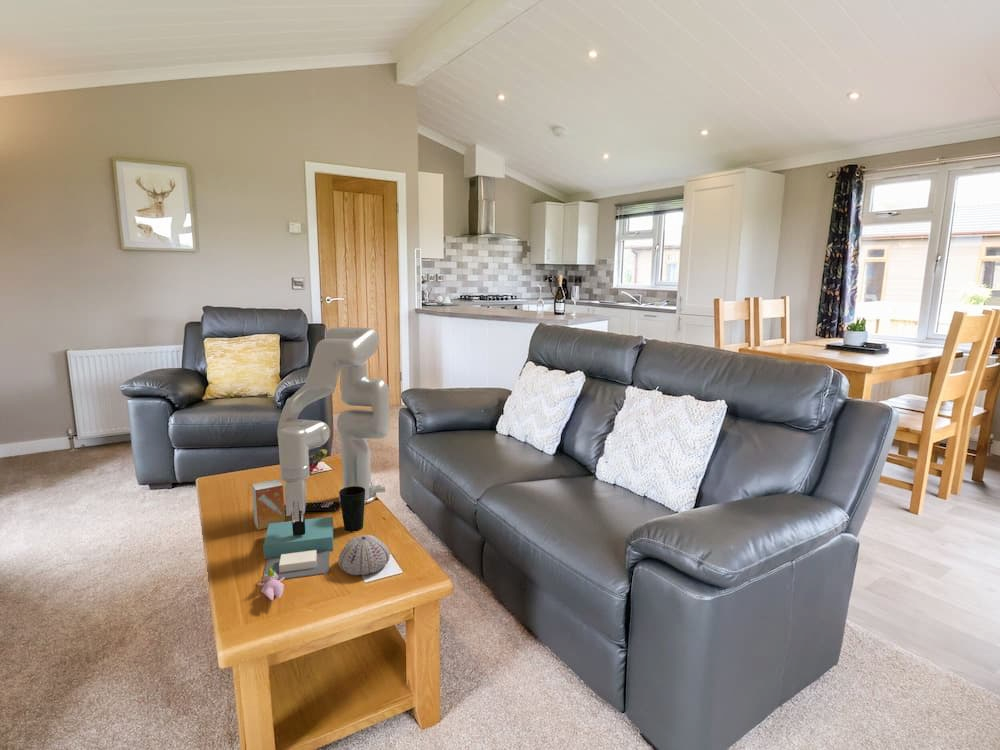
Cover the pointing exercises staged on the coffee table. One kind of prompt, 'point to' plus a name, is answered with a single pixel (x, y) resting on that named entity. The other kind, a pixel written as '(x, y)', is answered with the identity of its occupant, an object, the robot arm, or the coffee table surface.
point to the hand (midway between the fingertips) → (299, 533)
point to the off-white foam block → (298, 561)
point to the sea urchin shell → (363, 555)
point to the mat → (321, 568)
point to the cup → (352, 507)
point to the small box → (268, 503)
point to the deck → (298, 537)
